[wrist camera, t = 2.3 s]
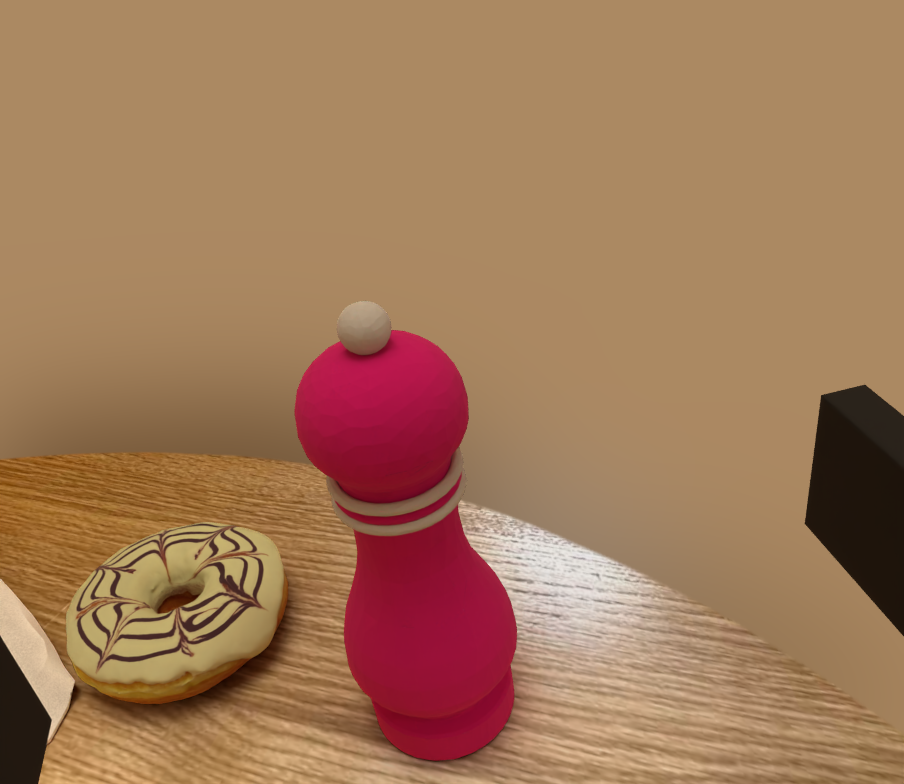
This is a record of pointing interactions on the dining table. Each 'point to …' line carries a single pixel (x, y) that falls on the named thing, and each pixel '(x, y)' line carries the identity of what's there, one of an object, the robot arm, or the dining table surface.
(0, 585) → the cloth
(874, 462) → the robot arm
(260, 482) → the dining table surface
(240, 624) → the decorated donut
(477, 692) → the pepper mill
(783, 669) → the dining table surface
